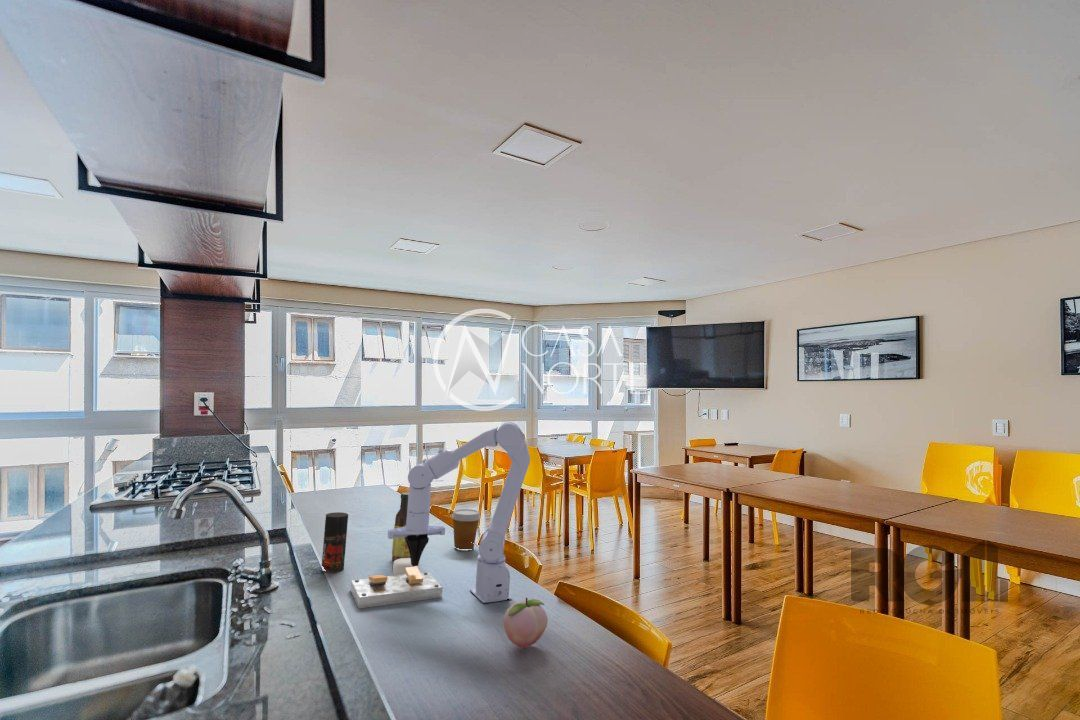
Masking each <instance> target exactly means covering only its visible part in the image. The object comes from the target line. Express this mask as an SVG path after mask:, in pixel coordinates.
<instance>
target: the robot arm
mask: <svg viewBox="0 0 1080 720" xmlns="http://www.w3.org/2000/svg"><path fill="white" fill-rule="evenodd" d="M497 446H500V447H501V448H502V450H505V452H506V453H507V456H508V457H509V460H510V461H511V464H510V467H509V470H508V473H507V476H506V479H505V481H504V484H503V487H502V489H501V493H500V495H499V498H498V502H497V504H496V507H495V511H494V513H493V515H492V518H491V521H490V524H489V527H488V528H487V529H486V530H485V531H484V532H483V533H482V536H481V540H480V543H479V546H478V555H477V561H476V575H475V576H476V578H475V587H470V588H469V591H470V592H471V593H472V594H473V595H474V596H475V597H476V598H477V599H478V600H479V601H480V602H481V604H487V603H495V602H502V601H508V600H507V599H509V600H512V599H511V598H513V597H512V595H510V584H511V583H510V580H511V574H510V570H509V568H508V567H507V566H506V555H505V553H504V550H505V548H504V547H505V543H506V533H507V532H508V531H507V530H508V527H509V525H510V521H511V518H512V515H513V512H514V510H515V507H516V504H517V501H518V497H519V495H520V492H521V489H522V487H523V483H524V481H525V477H526V475H527V472H528V469H529V466H530V463H531V456H530V452H529V449H528V445H527V441H526V438H525V434H524V432H523V431H522V430H521V428H520V426H519V425H518V424H516V423H514V422H509V421H508V422H504V423H503V424H501V426H500V427H499V425H498V426H496V427H492V428H491V429H488V430H485V431H483V432H482V433H479V435H477V436H476V437H474V438H472V439H470V440H469V441H466V442H465V443H464V444H462V445H461V446H459V447H457V448H456V449H452V448H445V449H444V448H441V449H439V450H438V451H437V453H436V454H434V456H431V457H430V458H428V459H427V458H424V459H423V460H422V461H421V462H422V463H419V464H417V465H414V467H412V468H411V469H410V471H409V472H408V474H407V481H408V483H409V487H408V488H409V489H408V490H409V491H408V493H409V494H408V507H407V521H406V527H402V528H396V529H394V528H389V529H387V538H388V539H389V540H393V538H399V537H404V538H405V540H406V543H407V546H408V549H409V553H410V558H411V565H412V566H418V564H419V561H420V560H421V557H422V554H423V552H424V550H425V548H426V546H427V544H428V543H429V539H430V538H429V537H428V536H437V535H440V536H445V534H446V526H444V525H430V515H431V513H430V511H431V499H432V497H431V495H432V493H431V491H432V490H431V489H432V482H433V480H438V479H439V478H442V477H444V476H445V475H446V474H449V473H450V472H452V471H454V470H456V469H457V468H458V467H459V464H460V462H461V460H463V459H465V458H467V457H469V456H471V455H472V454H474V453H476V452H478V451H480V450H482V449H484V448H486V447H491V448H492V447H493V448H495V447H497ZM419 565H420V564H419Z"/></svg>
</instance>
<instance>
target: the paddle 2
mask: <svg viewBox="0 0 1080 720" xmlns="http://www.w3.org/2000/svg"><path fill="white" fill-rule="evenodd" d="M405 573H406V575H407V578H408V580H409V582H410V584H412V583H420V582H423V577H422V575H421V573H422V572H421V571H420V568H419V569H418V567H417V566H416V567H406V568H405Z"/></svg>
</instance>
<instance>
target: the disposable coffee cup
mask: <svg viewBox="0 0 1080 720" xmlns="http://www.w3.org/2000/svg"><path fill="white" fill-rule="evenodd" d="M451 518H452V521H453V523H452V524H453V526H452V527H453V546H455V547H456V548H459V549H473V548H474V547H475V543H476V542H475V541H476V538H477V531H478V528H479V527H478V525H479V520H480V518H481V514H480V511H479V510H476V509H472V508H471V509H469V508H459V509H454V511H453V513H452V514H451ZM471 542H472V543H471ZM473 543H474V544H473ZM473 550H474V549H473Z"/></svg>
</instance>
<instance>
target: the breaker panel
mask: <svg viewBox="0 0 1080 720" xmlns="http://www.w3.org/2000/svg"><path fill="white" fill-rule="evenodd" d="M420 573H421V575H422V577H423V582H420V583H412V584H410V582H409V580H408V578H407V575H406V574H405V575H396V576H393V575H389V576H386V577H387V582H378V583H373V582H371V581H369V577H368V578H361V579H353V580H352V579H351V581H350V592H351V596H352V598H353V599H354V602H355V604H356V606H357V609H366V608H372V607H373V608H374V607H381V606H387V605H395V604H402V603H409V602H416V601H417V602H418V601H425V600H433V599H438V598H439V599H441V598H443V586H442V584H440V582H438V580H437V579H436V578H435V577H434V576H433V575H432V574H431V572H429V571H425V572H420Z"/></svg>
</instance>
